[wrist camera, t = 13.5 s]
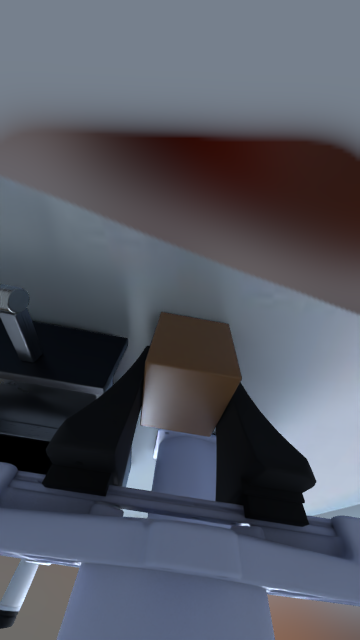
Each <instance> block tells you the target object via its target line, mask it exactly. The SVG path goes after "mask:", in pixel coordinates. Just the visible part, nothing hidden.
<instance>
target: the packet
mask: <svg viewBox="0 0 360 640" xmlns="http://www.w3.org/2000/svg"><path fill="white" fill-rule="evenodd" d="M241 380H242V376H241V372H240V368H239V364H238V360H237V356H236V352H235V348H234V344H233V340H232V336H231V332H230V328H229V324H226V323H220V322H215V321H209V320H204V319H198V318H193V317H187V316H181V315H176V314H170V313H165V312H161V314H160V317H159V320H158V323H157V326H156V329H155V333H154V336H153V339H152V342H151V345H150V348H149V352H148V355H147V358H146V361H145V372H144V384H143V396H142V408H141V421H140V425H141V426H146V427H152V428H158V429H164V430H170V431H176V432H182V433H188V434H195V435H201V436H207V437H210V436H211V434H212V432H213V430H214V429H215V427H216V425H217V423H218V421H219V420H220V418H221V416H222V414H223V412H224V411H225V409H226V407H227V405H228V403H229V401H230V400H231V398H232V396H233V394H234V392H235V391H236V389H237V387H238V385H239V383H240V381H241Z"/></svg>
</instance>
